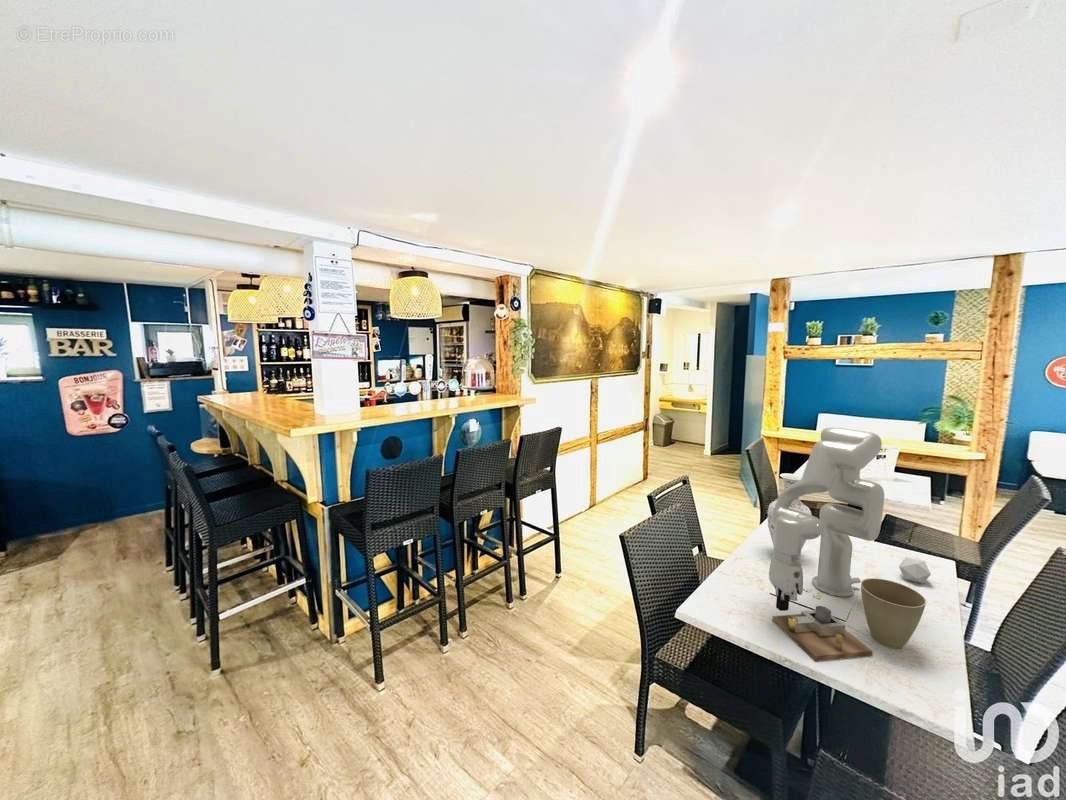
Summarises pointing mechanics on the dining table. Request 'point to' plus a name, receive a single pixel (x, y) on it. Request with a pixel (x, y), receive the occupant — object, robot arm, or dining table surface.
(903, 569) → the die
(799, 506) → the vase
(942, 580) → the dining table surface
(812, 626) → the square frame with handle
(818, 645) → the board
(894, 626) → the plant pot
